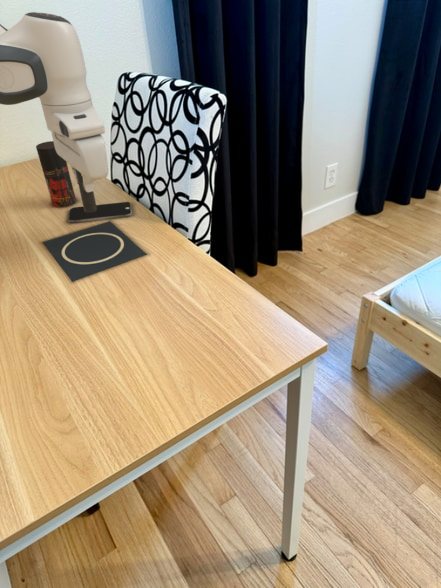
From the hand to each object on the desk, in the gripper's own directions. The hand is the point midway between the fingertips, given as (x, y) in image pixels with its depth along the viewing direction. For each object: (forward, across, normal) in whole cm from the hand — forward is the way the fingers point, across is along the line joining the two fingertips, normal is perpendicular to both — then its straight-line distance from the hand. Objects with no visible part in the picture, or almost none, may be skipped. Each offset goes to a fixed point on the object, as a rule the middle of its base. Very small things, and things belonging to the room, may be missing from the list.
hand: (85, 187), depth 88 cm
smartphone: (+12, -12, +6) cm, 18 cm away
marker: (+5, 0, 0) cm, 5 cm away
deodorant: (+13, -24, +1) cm, 27 cm away
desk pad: (+12, +3, -2) cm, 13 cm away
